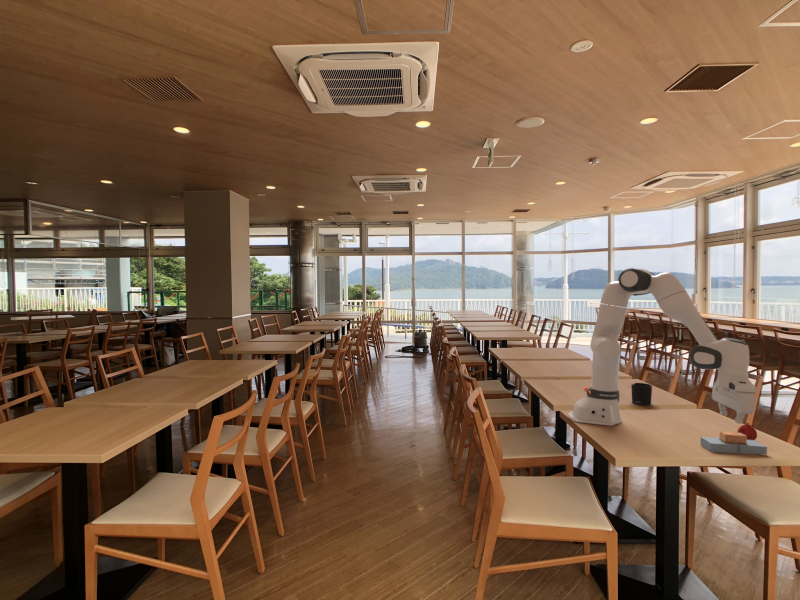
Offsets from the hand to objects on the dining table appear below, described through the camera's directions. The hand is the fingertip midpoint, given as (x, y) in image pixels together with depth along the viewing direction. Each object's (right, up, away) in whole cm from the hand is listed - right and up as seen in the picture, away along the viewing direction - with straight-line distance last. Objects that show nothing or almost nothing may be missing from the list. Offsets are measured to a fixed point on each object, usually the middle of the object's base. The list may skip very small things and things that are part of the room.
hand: (730, 419), depth 153 cm
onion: (+12, -12, +7) cm, 18 cm away
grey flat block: (+1, -11, 0) cm, 11 cm away
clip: (+1, -11, 0) cm, 11 cm away
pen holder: (+5, -11, +65) cm, 66 cm away
